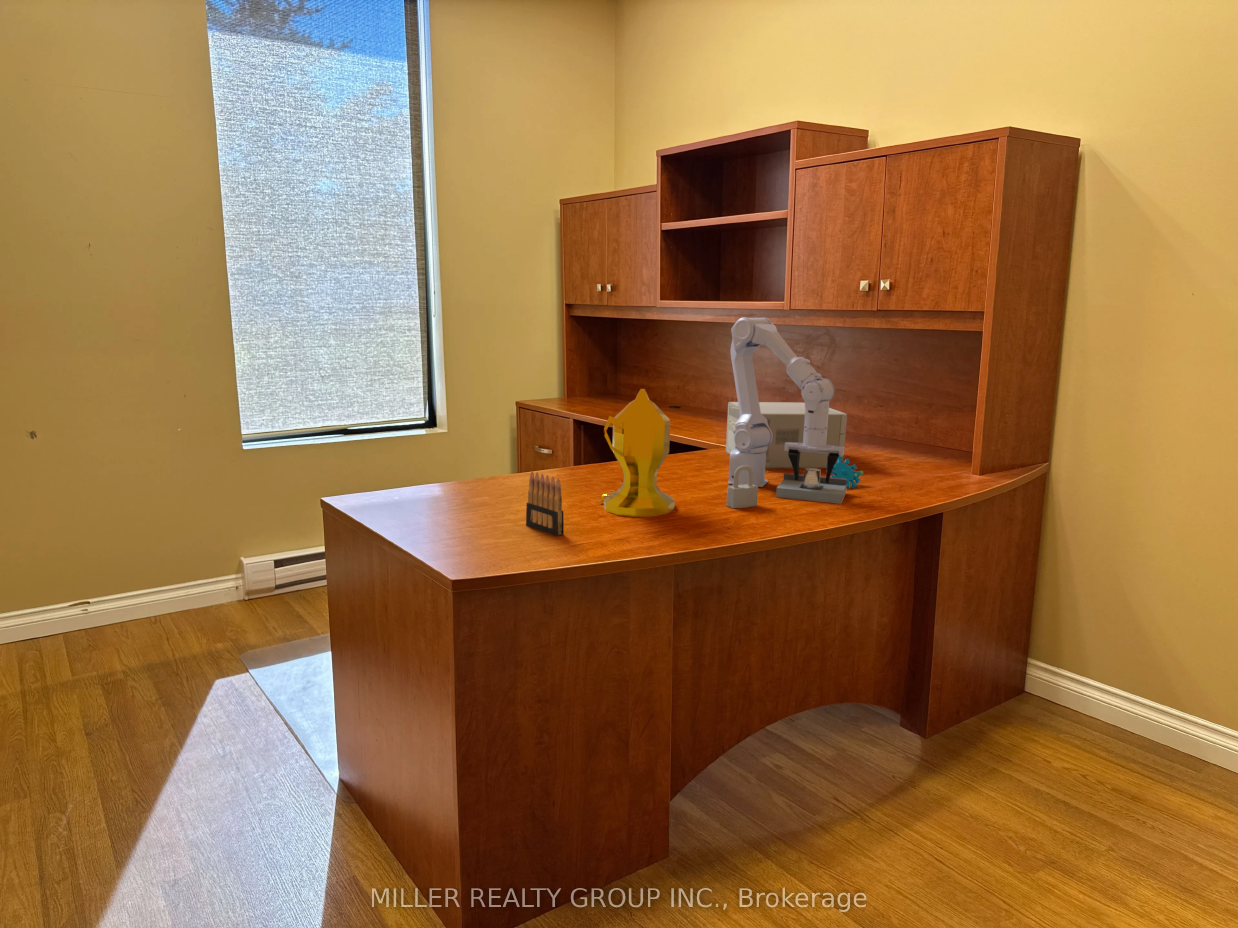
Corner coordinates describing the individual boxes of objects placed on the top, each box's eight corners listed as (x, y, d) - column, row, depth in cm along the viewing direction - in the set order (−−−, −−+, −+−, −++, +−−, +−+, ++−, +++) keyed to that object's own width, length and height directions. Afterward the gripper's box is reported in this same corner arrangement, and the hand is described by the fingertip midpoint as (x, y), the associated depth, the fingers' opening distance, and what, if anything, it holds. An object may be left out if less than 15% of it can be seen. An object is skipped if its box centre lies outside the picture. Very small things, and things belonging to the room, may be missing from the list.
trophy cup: (575, 511, 196) (577, 389, 190) (634, 492, 216) (638, 382, 210) (638, 524, 186) (642, 396, 181) (694, 503, 206) (699, 388, 200)
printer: (843, 468, 254) (847, 414, 251) (749, 469, 250) (752, 413, 247) (810, 452, 280) (814, 402, 277) (725, 452, 276) (728, 401, 273)
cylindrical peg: (800, 497, 215) (802, 470, 214) (804, 494, 219) (806, 467, 217) (816, 499, 214) (818, 471, 212) (820, 496, 217) (822, 469, 216)
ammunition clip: (525, 525, 183) (525, 470, 181) (532, 523, 184) (532, 469, 182) (557, 536, 175) (557, 479, 173) (563, 534, 177) (564, 478, 174)
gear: (833, 484, 224) (824, 453, 229) (822, 495, 228) (814, 465, 234) (869, 488, 227) (860, 457, 233) (857, 499, 232) (849, 469, 237)
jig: (776, 497, 215) (776, 481, 214) (783, 487, 226) (784, 473, 225) (841, 503, 209) (842, 488, 209) (845, 493, 220) (846, 478, 220)
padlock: (748, 503, 208) (751, 462, 206) (758, 506, 205) (761, 466, 203) (724, 505, 205) (726, 465, 203) (734, 509, 201) (736, 468, 199)
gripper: (784, 427, 212) (780, 481, 215) (843, 432, 207) (839, 486, 210) (788, 424, 218) (785, 475, 221) (846, 428, 214) (842, 481, 216)
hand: (811, 480), depth 216 cm, fingers open, 7 cm apart
